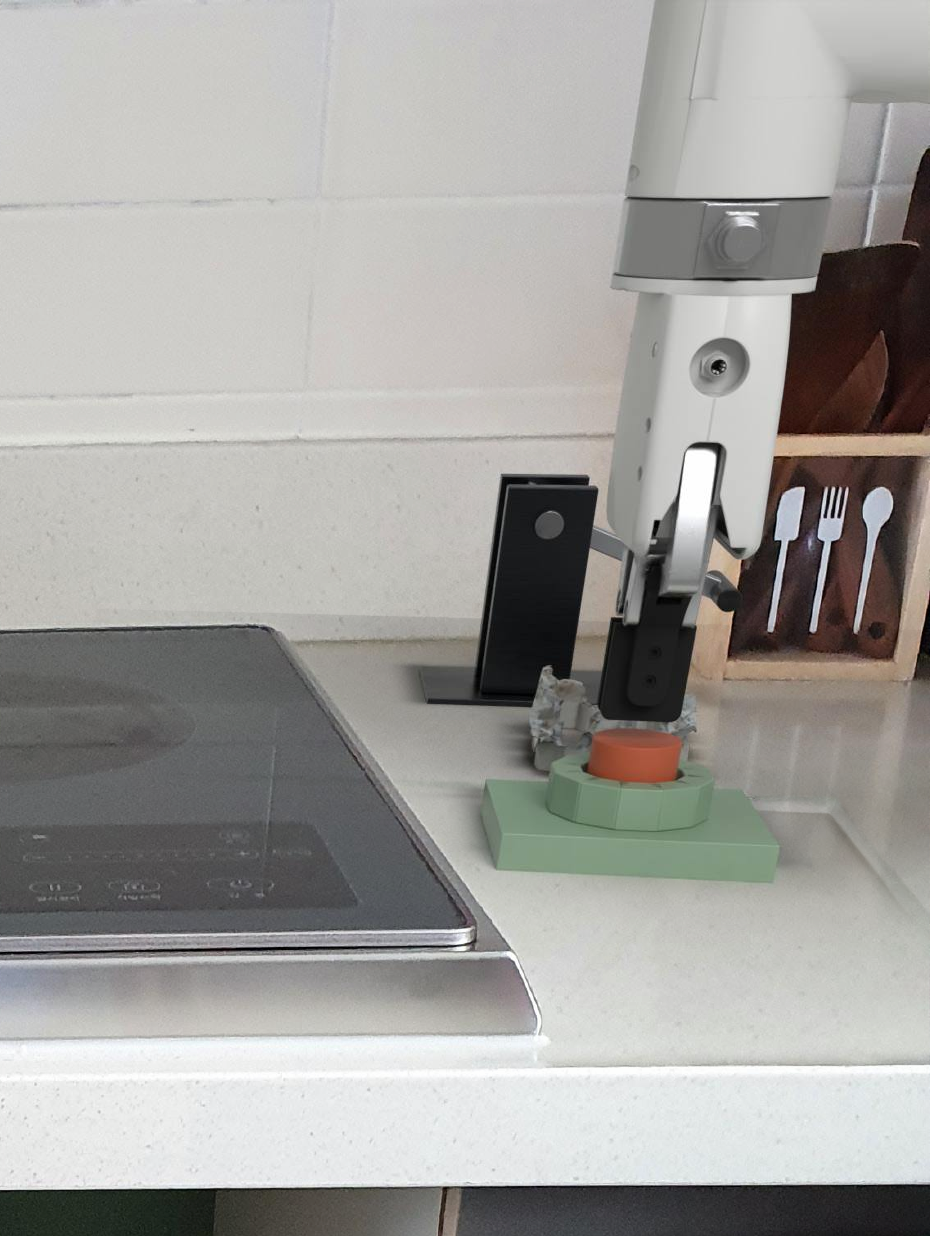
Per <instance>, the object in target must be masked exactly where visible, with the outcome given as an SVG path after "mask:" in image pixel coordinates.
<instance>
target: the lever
mask: <svg viewBox="0 0 930 1236" xmlns="http://www.w3.org/2000/svg"><path fill="white" fill-rule="evenodd" d="M527 485H537V484H535V483H532V482H528V484H527ZM590 550H593V551H595V552H598V553H601V554H602V555H605V556H608V557H610V558H613V559H615V560H617V561H619V562H622V557H623V550H624V543H623V542H622V541H621V540H620V539H619V537H618V536H617V535H616V534H615V532H611V531H608V530H606V529H604V528H602V527H599V526H596V525H594V524H593V530H592V537H591V544H590ZM702 596H703V597H705V598H708V599H710V600H711V601H712V602H713V603H714V605H715V606H716V607H717V608H718V609H719V610H720V611H721V612H724V613H732V612H734V611H736V610H738V609H739V608H740V607H741V605H742V603H743V594H742V592H740V591H739V589H738V588H737V587H736V586H735V585H734V584H733V582H732V581H730V580H729V579H728V578H727V577H726V575H725V574H723V572H721V571H720V570H718V569H712V570H709V571H707V572H706V577H705V582H704V587H703V592H702Z"/></svg>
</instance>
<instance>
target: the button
mask: <svg viewBox="0 0 930 1236" xmlns="http://www.w3.org/2000/svg"><path fill="white" fill-rule="evenodd" d="M681 747H682V740H681V739H680V738H679V737H677V736H674V735H672V734H669V733H665V732H660V731H654V730H647V729H634V728H618V729H607V730H602V731H599V732H596V733H595V734H594V735H593V738H592V744H591V751H590V757H589V763H588V770H587V774H590V775H593V776H595V777H598V778H603V779H609V780H615V781H621V782H638V783H660V782H670V781H676V776H677V770H678V764H679V759H680V753H681Z"/></svg>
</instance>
